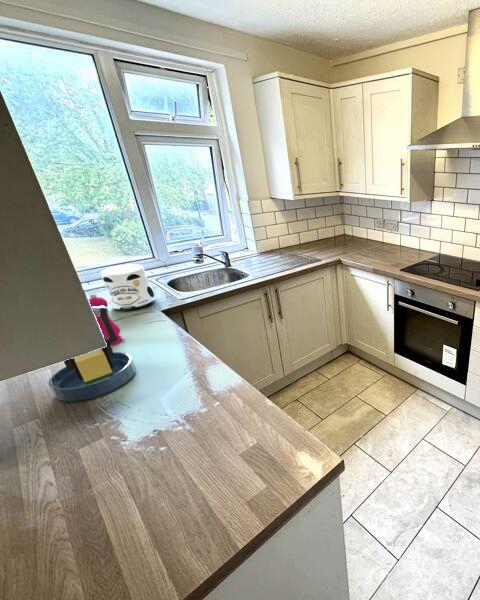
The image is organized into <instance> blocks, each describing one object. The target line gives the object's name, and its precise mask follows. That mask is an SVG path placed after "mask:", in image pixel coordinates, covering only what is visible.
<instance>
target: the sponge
mask: <svg viewBox="0 0 480 600" xmlns="http://www.w3.org/2000/svg"><path fill="white" fill-rule="evenodd" d="M74 360H75V362H76V364H77V367H78V369H79V371H80V373H81V375H82V377H83V379H84V381H85V384H86V385H89V384H92V383H94V382H97V381H100V380H103V379H105V378H108V377H111V376H113V373H112V370H111V368H110V366H109V363H108V361H107V359H106V356H105V354H104V352H103V350H102V349H99V350H96V351H92V352H90V353H87V354H84V355H82V356H78V357H76V358H74Z"/></svg>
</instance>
